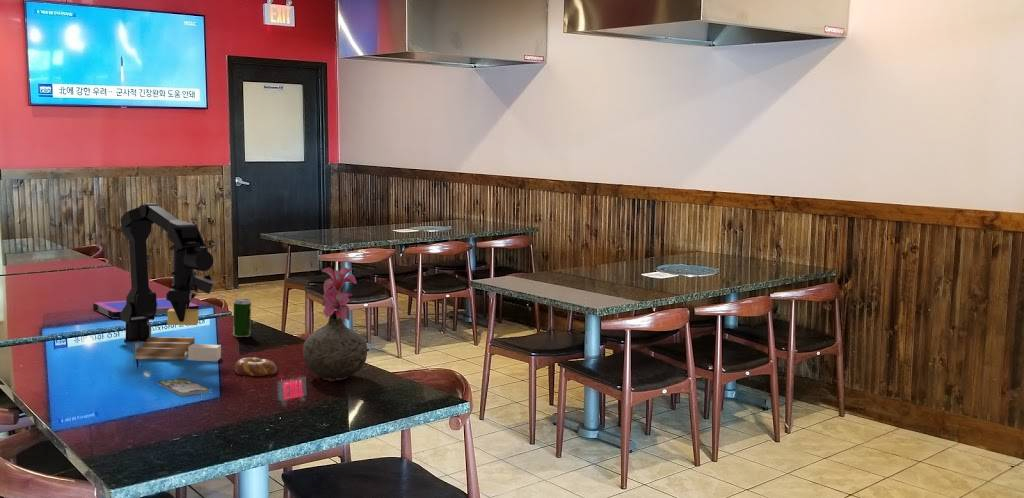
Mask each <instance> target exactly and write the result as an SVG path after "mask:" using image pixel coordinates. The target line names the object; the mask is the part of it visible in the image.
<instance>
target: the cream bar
mask: <svg viewBox="0 0 1024 498" xmlns="http://www.w3.org/2000/svg"><path fill="white" fill-rule="evenodd" d="M187 357H188V358H187V360H188V361H198V362H199V361H200V362H201V361H202V362H203V361H204V362H217V361H219V360H220V359H221V357H222V345H221V344H204V343H203V344H201V343H195V344H192V345H190V346H189V347H188V355H187Z"/></svg>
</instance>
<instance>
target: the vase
mask: <svg viewBox="0 0 1024 498" xmlns="http://www.w3.org/2000/svg"><path fill="white" fill-rule="evenodd" d="M351 271H353V267H350V268H348V267H347V266H346V267H345V266H342V267H341V268H340V269H339V270H337V269H335V270H333V269H332V267H331V266H330V267H325V268H324V269H322V270H321V272H323V273H325V274H327V275H329V276H330V278H327V279H326V280H325V281H324V283H323V292H324V293H323V296H322V298H323V300H322V304H321V306H323V307H324V308H323V309H322V310H323V311H322V312H323V314H324V316H325V317H326V318H328V321H327V323H326V324H325V325H324V326H321V327H320V328H318V329H317V330H315V331H313V332H311V334H309V336H308V337H306V339H305V341H304V342H303V345H302V356H303V357H302V358H303V361H304V364H305V366H306V368H307V369H308V370H309V371H311V372H312V373H314V374H315V375H318V376H320V378H321V377H323V378H331V379H336V378H345V377H347V378H349V377H350V376H352V375H355V374H356V373H357V372H359V371H360V370H362V368H363V367H364V365H365V364H366V362H367V357H368V346H367V345H368V344H367V342H366V341H365V339H364V338H363V337H362V336H361V334H359V333H358V332H356V331H355V330H353V329H351V328H349V327H348V326H346V325H345V324H344V323H346V322H345V320H347V321H348V322H350V317H351V316H350V307H349V306H348V303H349V302H350V300H351V299H350V297H352V296H353V294H352V293H350V292H346V291H342V292H341V290H342V288H343V286H344V284H345V283H352V284H356V285H357V283H358V282H357V280H356V277H355V275H354V274H352V273H350V272H351Z"/></svg>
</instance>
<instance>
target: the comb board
mask: <svg viewBox="0 0 1024 498" xmlns="http://www.w3.org/2000/svg"><path fill="white" fill-rule="evenodd" d="M192 344H196V343H195V337H189V336H187V337H185V336H177V337H176V336H175V337H172V336H151V337H148V341H146V342H142V343H141V347H135V360H185V359H186V358H187V357H188V347H189V346H190V345H192Z"/></svg>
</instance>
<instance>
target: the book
mask: <svg viewBox="0 0 1024 498" xmlns="http://www.w3.org/2000/svg"><path fill="white" fill-rule="evenodd" d="M156 301H157V310H156V314H157V313H167V312H168V310H169V309H174V308H173V306H172V304H171V302H170V301H168V300H166V297H161V298H159V297H156ZM92 304H93V307H92V309H95V310H98V311H100V312H103V313H105V314H107V315H109V316H111V317H120V313H121V311H122V310H123V308H124V307H125V305H126V300H115V301H99V302H98V301H97V302H93V303H92ZM189 309H199V310H200V307H199V305H197V304H195V303H192V302H190V305H189ZM95 310H94V311H95Z"/></svg>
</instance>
